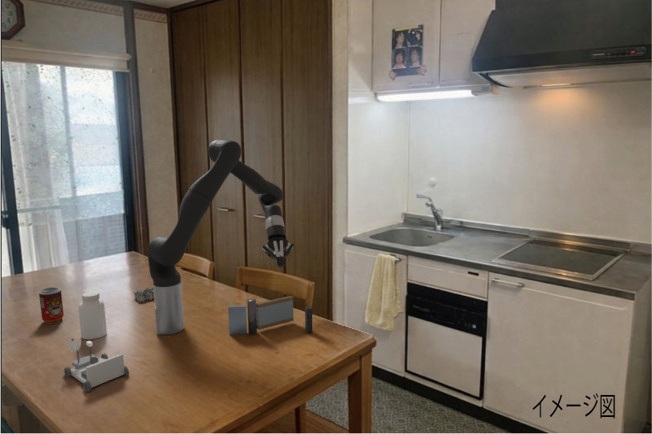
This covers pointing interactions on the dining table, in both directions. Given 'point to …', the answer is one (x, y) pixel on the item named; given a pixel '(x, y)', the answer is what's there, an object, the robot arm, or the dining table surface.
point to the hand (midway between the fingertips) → (281, 266)
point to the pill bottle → (92, 316)
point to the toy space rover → (95, 367)
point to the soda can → (51, 305)
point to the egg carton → (144, 294)
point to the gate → (274, 312)
